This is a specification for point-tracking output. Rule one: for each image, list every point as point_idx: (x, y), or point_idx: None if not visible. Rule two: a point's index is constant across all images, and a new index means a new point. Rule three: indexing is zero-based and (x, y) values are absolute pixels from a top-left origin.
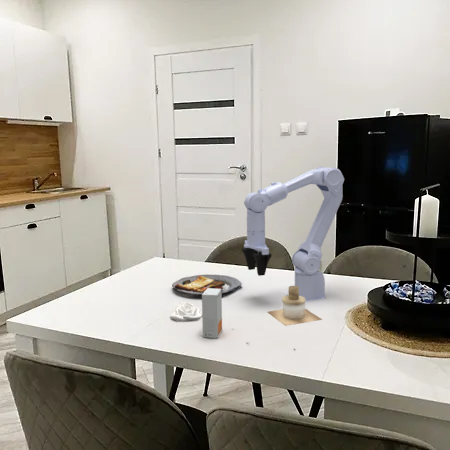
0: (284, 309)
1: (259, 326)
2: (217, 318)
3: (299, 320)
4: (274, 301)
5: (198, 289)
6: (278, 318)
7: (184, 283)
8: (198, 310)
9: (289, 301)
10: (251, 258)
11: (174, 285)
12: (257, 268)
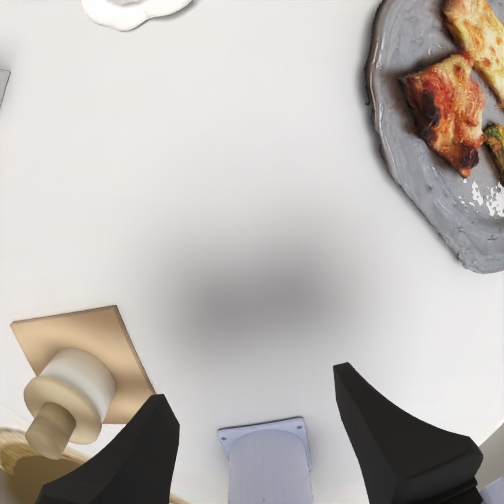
0: (54, 363)
1: (12, 250)
2: None
3: None
4: (258, 364)
5: (465, 62)
6: (54, 326)
7: None
8: (152, 8)
9: (28, 392)
10: (363, 449)
11: None
12: (129, 427)
